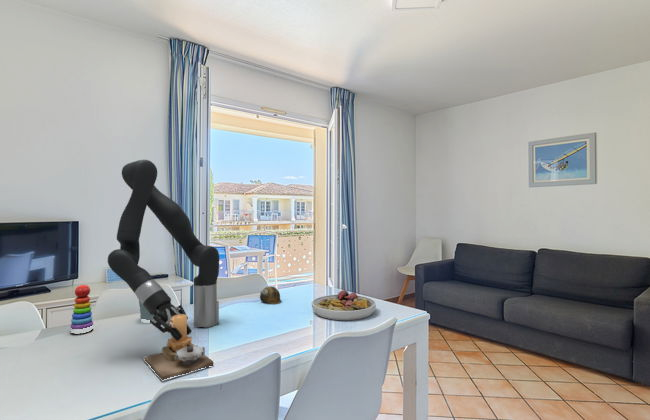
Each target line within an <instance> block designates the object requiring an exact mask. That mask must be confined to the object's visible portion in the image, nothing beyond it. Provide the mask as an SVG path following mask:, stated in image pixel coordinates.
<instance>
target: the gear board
mask: <svg viewBox="0 0 650 420" xmlns="http://www.w3.org/2000/svg"><path fill="white" fill-rule="evenodd" d="M161 348H162V350H161V351H162V352H159V353H155V354H150V355H147V356H144V357H143V360H144V359H145V361H146V362H147V363H148V364H149V365H150V366H151V368H152V369H153V370H154V371H155V373H156V374H157V375H158V376H159V377H160V378H161V379H162V380H164V379H167V378H170V377H174V376H178V375H182V374H186V373H189V372H191V371H195V370H198V369H201V368H205V367H209V366H213V367H214V360H212V359H211V358H210V357H208V356H207V355H205V352H206V350H205V347H204V346H199V345H194V344H193V343H192V342H191V344H187V347H183V348H182V349H180V350H177V351H175V352H172V347H171V346H167V345H166V346H163V347H161Z"/></svg>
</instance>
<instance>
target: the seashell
mask: <svg viewBox="0 0 650 420" xmlns="http://www.w3.org/2000/svg"><path fill="white" fill-rule="evenodd" d="M259 299H260V301H261V302H262V303H266V304H270V305H276V304H280V303H281V302H282V300H281V295H280V291H279V290H278V288H276V287H274V286H272V285H271V286H266V287H263V289H262V290H261V291H260V295H259Z"/></svg>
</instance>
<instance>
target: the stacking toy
mask: <svg viewBox="0 0 650 420" xmlns="http://www.w3.org/2000/svg"><path fill="white" fill-rule="evenodd" d="M90 293H91V288H90V286H89V285H87V284H80V285H78V286H77V287H75V290H74V294H75V296H76V297H75V298H74V302H75V303H74V305H73V307H74V308H73V309H72V311H73V313H72V314H71V321H70V322H71V323H70V329H71V328H72V329H83V328H87V327H90V326H92V325H93V326H94V321H93V316H92V315H93V312H92V306H91V305H92V303H91V301H90V300H91V297H90V296H89V295H90Z"/></svg>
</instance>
